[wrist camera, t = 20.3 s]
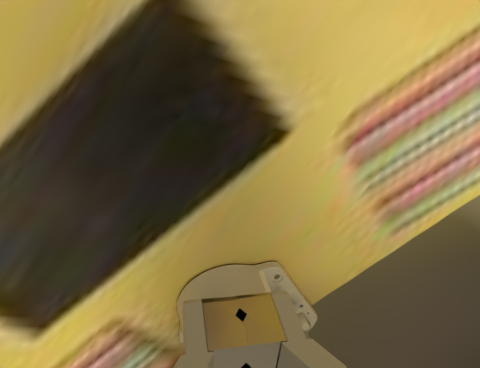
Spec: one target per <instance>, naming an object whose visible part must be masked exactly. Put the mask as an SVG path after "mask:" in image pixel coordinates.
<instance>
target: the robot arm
mask: <svg viewBox="0 0 480 368" xmlns="http://www.w3.org/2000/svg"><path fill="white" fill-rule="evenodd" d="M177 313H178V317H179V320H180V327H179V331H178V336H179V341H180V342H181V343H183V344H184V355H182V356H180V357H179V359H178V361H177V362H176V364H175V366H174V368H347V367H346V366H345V365H344V364H342V363H341V362H340V361H339V360H338V359H336V358H335V357H334V356H333V355H331V354H330V353H329V352H328V351H327V350H325V349H324V348H323V347H322V346H321V345H319V344H318V343H317V342H316V341H314V340H313V339H312V338H311V339H310V337H309V334H308V332H309V331H310V330H311V328H312V327H313V326H314V324H315V323H316V321H317V314H316V312H315V310H314V309H313V308H312V306H311V305H310V304H309V302H308V301H307V300H306V298H305V297H304V296H303V294H302V293H301V292H300V290H299V289H298V288H297V286H296V285H295V284H294V282H293V281H292V280H291V278H290V277H289V276H288V274H287V273H286V272H285V270H284V269H283V268H282V266H281V265H280V264H279V263H278V262H266V263H262V264H258V265H227V266H221V267H217V268H214V269H211V270H209V271H206V272H204V273H202V274H201V275H199V276H197V277H196V278H194V279H193V280H192V281H191V282H190V283H188V284H187V286H186V287H185V288H184V289H183V291H182V292H181V294H180V296H179V298H178V301H177Z"/></svg>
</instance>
